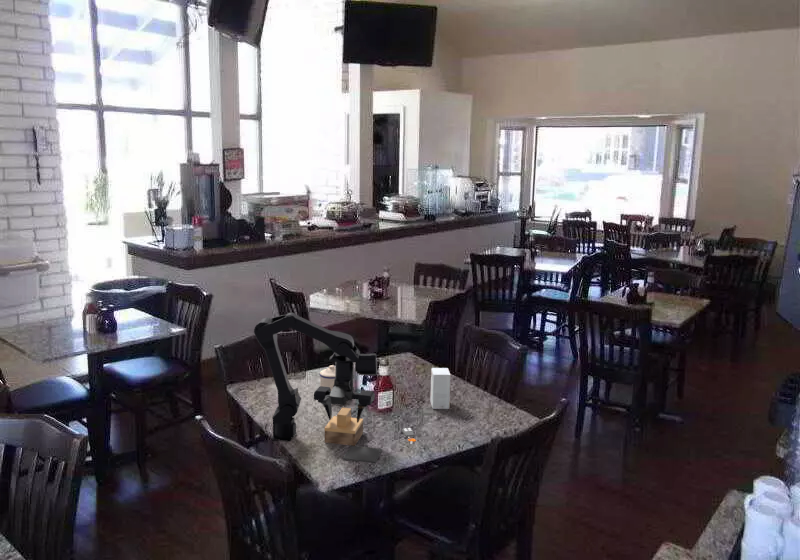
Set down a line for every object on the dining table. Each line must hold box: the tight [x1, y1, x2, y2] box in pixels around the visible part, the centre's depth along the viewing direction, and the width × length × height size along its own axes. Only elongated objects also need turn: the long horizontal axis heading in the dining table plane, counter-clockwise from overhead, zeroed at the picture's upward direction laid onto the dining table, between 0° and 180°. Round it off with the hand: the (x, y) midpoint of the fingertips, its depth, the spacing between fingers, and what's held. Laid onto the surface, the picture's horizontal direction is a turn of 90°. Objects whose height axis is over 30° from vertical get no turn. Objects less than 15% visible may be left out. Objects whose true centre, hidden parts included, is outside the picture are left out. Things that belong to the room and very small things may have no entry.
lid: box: [324, 407, 364, 434], centre depth 216 cm, size 10×10×6 cm
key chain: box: [401, 427, 417, 445], centre depth 218 cm, size 13×4×2 cm, turn 13°
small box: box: [430, 367, 452, 410], centre depth 246 cm, size 8×6×13 cm
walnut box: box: [324, 422, 364, 446], centre depth 217 cm, size 10×10×4 cm
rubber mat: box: [342, 445, 383, 464], centre depth 205 cm, size 10×9×1 cm
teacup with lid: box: [319, 364, 335, 391], centre depth 255 cm, size 12×9×12 cm
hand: (344, 420), depth 216 cm, fingers open, 9 cm apart
